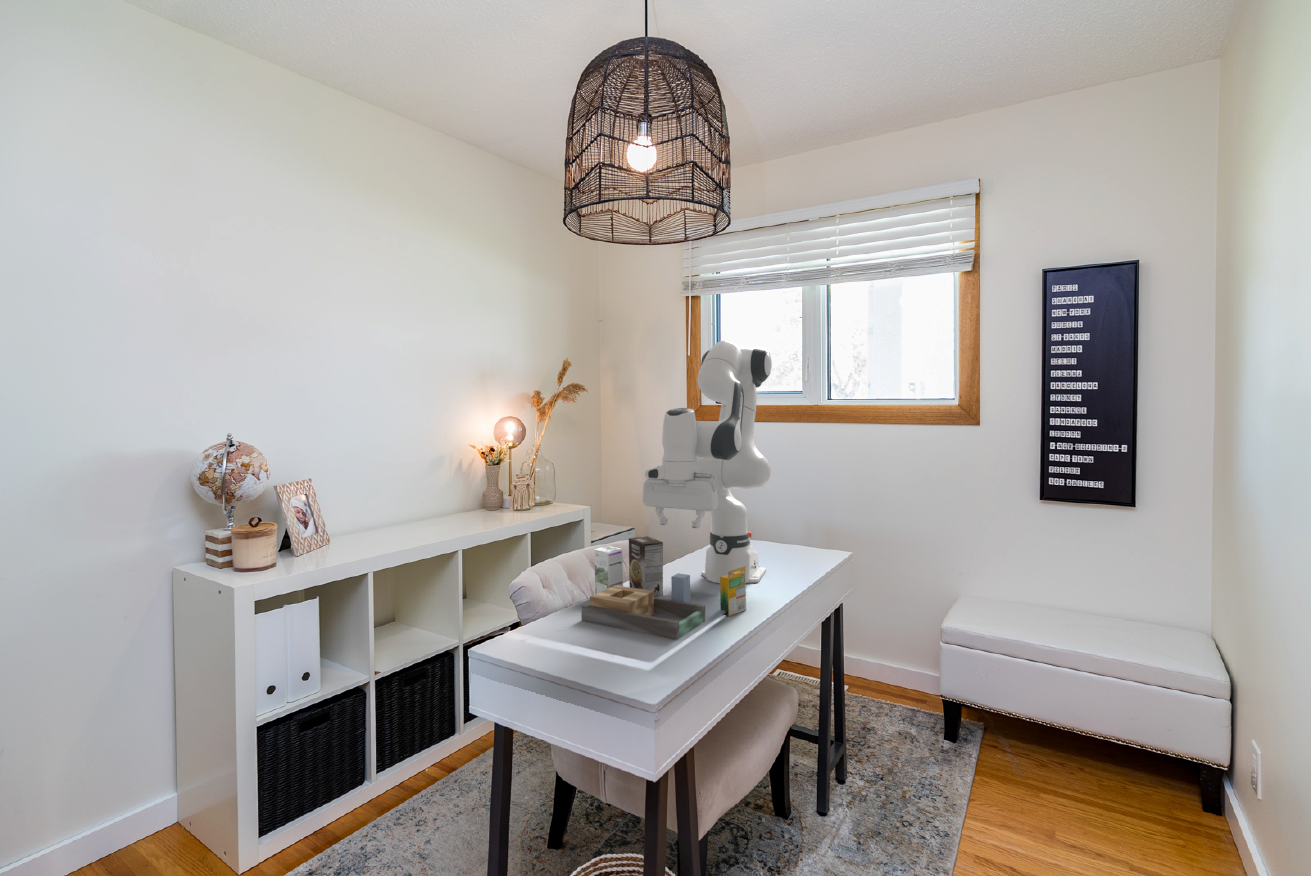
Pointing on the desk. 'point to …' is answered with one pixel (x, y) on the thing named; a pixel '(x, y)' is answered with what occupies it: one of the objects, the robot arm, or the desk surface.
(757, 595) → the desk surface
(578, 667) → the desk surface
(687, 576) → the handle peg
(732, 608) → the crayon box
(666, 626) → the bay
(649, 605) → the slotted wooden block
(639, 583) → the coffee box
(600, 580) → the syrup box
